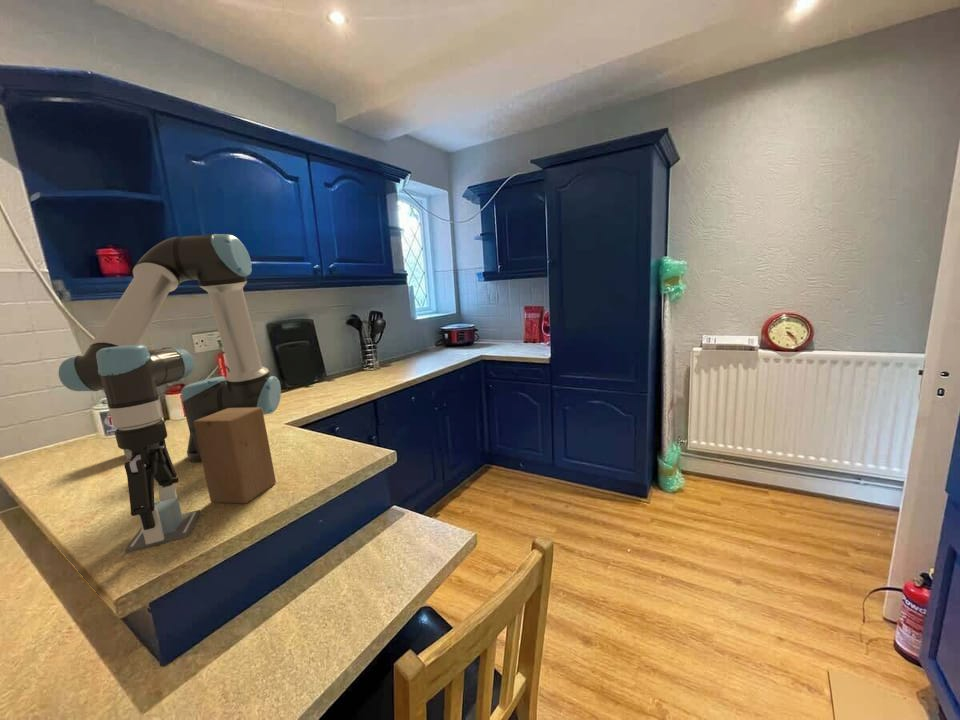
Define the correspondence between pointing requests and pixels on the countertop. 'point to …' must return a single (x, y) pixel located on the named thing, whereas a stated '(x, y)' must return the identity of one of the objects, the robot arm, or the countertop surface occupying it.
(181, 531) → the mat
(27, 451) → the countertop surface
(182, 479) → the countertop surface
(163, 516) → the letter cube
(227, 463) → the wooden block
